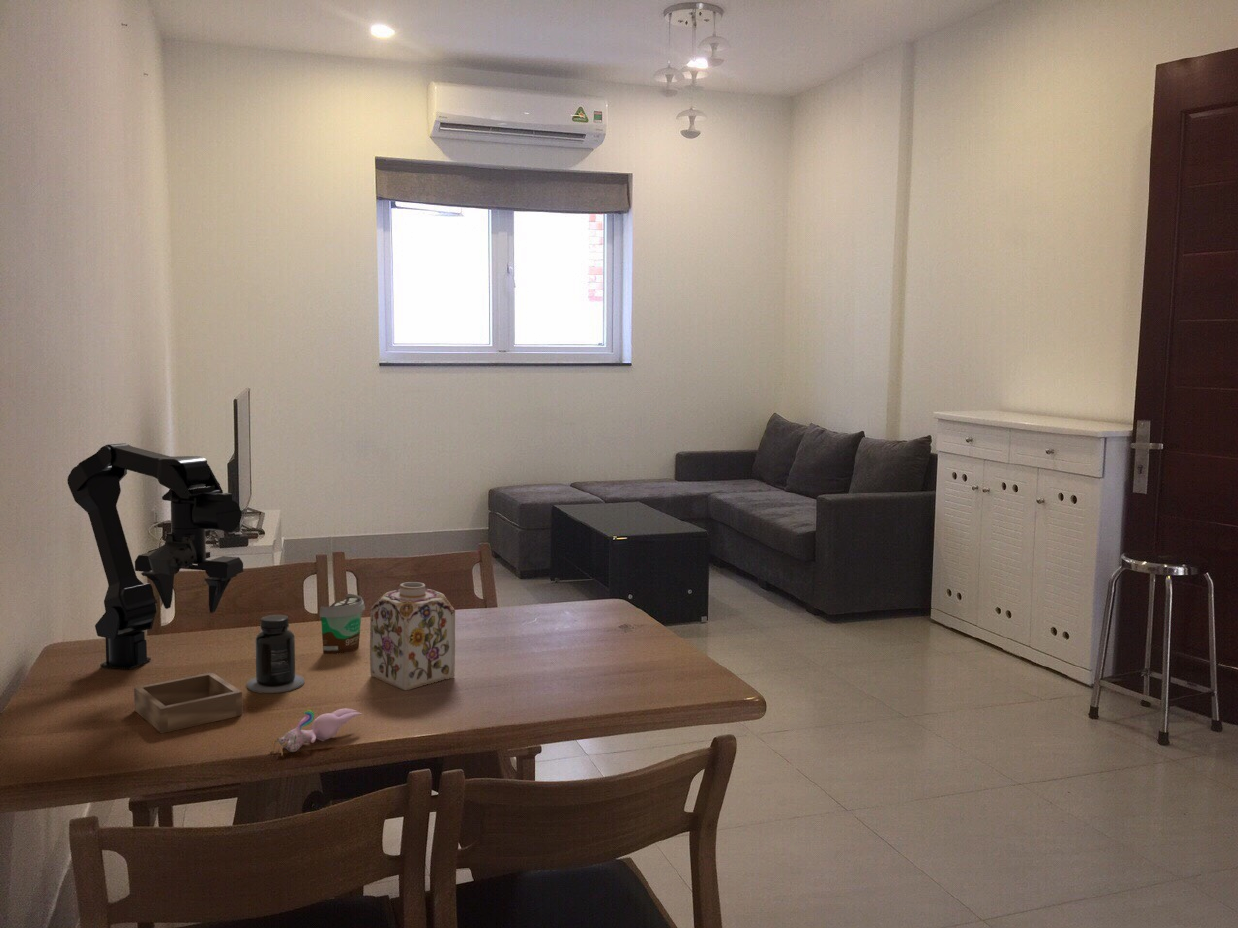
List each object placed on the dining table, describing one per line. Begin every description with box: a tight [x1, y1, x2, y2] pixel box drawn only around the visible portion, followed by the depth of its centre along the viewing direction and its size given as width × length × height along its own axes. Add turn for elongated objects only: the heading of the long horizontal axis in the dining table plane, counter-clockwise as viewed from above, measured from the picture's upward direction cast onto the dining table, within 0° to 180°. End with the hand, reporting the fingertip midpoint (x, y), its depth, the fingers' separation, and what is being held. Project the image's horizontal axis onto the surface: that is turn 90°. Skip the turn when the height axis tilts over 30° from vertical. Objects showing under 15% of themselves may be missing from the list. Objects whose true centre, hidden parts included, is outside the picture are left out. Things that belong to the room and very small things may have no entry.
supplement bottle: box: [254, 614, 296, 687], centre depth 184 cm, size 7×7×12 cm
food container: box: [319, 593, 366, 655], centre depth 207 cm, size 12×6×10 cm, turn 168°
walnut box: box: [133, 672, 243, 734], centre depth 169 cm, size 13×13×4 cm
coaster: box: [246, 674, 305, 694], centre depth 185 cm, size 10×10×1 cm
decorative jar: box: [369, 581, 456, 691], centre depth 190 cm, size 12×12×18 cm
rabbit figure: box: [270, 707, 363, 756], centre depth 159 cm, size 6×6×15 cm
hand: (190, 610), depth 185 cm, fingers open, 9 cm apart
